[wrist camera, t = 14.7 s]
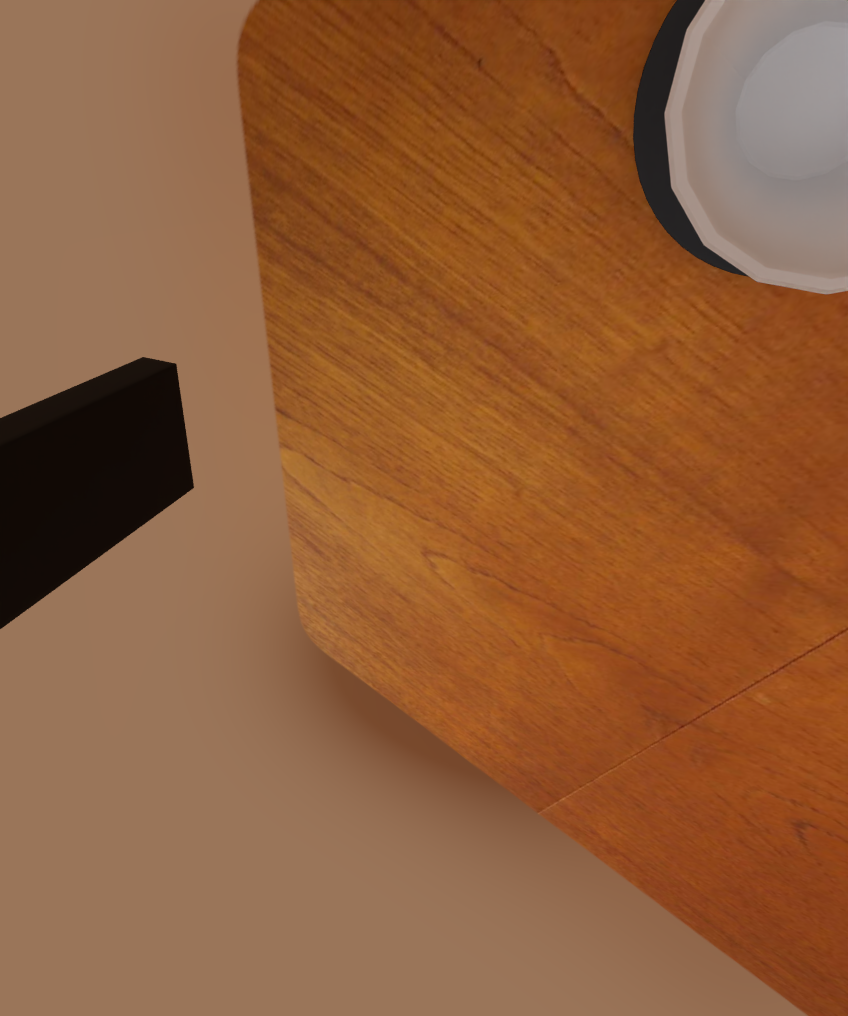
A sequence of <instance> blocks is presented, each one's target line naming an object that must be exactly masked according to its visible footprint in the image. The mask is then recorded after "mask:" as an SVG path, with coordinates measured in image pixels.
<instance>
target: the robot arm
mask: <svg viewBox="0 0 848 1016" xmlns="http://www.w3.org/2000/svg"><path fill="white" fill-rule="evenodd" d="M193 488H194V486H193V478H192V471H191V464H190V457H189V450H188V443H187V436H186V429H185V422H184V415H183V408H182V401H181V394H180V388H179V380H178V373H177V366H176V364H175V363H169V362H165V361H160V360H155V359H150V358H145V357H142V358H140V359H138V360H135V361H133V362H131V363H128V364H126V365H124V366H121V367H119V368H117V369H114V370H112V371H110V372H107V373H105V374H103V375H100V376H98V377H96V378H93V379H91V380H89V381H86V382H84V383H82V384H79V385H77V386H74V387H72V388H70V389H68V390H65V391H63V392H60V393H58V394H56V395H53V396H51V397H49V398H46V399H44V400H42V401H39V402H37V403H35V404H32V405H30V406H28V407H26V408H23V409H21V410H18V411H16V412H14V413H11V414H9V415H7V416H4V417H2V418H0V629H1V628H3V627H4V626H5V625H7V624H8V623H9V622H10V621H12V620H14V619H15V618H16V617H18V616H19V615H20V614H22V613H23V612H24V611H26V610H27V609H29V608H30V607H31V606H33V605H34V604H35V603H37V602H38V601H40V600H41V599H42V598H44V597H45V596H46V595H48V594H49V593H51V592H52V591H53V590H55V589H56V588H57V587H59V586H60V585H61V584H63V583H64V582H65V581H67V580H68V579H70V578H71V577H72V576H74V575H75V574H77V573H78V572H79V571H81V570H82V569H83V568H85V567H86V566H87V565H89V564H90V563H91V562H93V561H94V560H96V559H97V558H98V557H100V556H101V555H103V554H104V553H105V552H107V551H108V550H109V549H111V548H112V547H113V546H115V545H116V544H117V543H119V542H120V541H122V540H123V539H124V538H126V537H127V536H128V535H130V534H131V533H133V532H134V531H135V530H137V529H138V528H139V527H141V526H142V525H144V524H145V523H146V522H148V521H149V520H150V519H152V518H153V517H154V516H156V515H157V514H158V513H160V512H161V511H163V510H164V509H165V508H167V507H168V506H170V505H171V504H172V503H174V502H175V501H176V500H178V499H179V498H181V497H182V496H183V495H185V494H186V493H187V492H189V491H190V490H191V489H193Z"/></svg>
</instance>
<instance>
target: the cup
mask: <svg viewBox="0 0 848 1016" xmlns="http://www.w3.org/2000/svg"><path fill="white" fill-rule="evenodd" d="M664 116H665V126H666V137H667V148H668V158H669V169H670V179H671V188H672V190H673V192H674V193H675V195H676V197H677V199H678V200H679V202H680V204H681V206H682V207H683V209H684V211H685V213H686V215H687V216H688V218H689V220H690V222H691V223H692V225H693V227H694V229H695V231H696V232H697V234H698V236H699V238H700V239H701V241H702V243H703V245H704V246H706V247H707V248H709V249H710V250H712V251H713V252H715V253H716V254H717V255H719V256H720V257H722V258H723V259H725V260H726V261H728V262H729V263H731V264H732V265H733V266H735V267H736V268H738V269H739V270H741V271H742V272H744V273H745V274H746V275H748V276H749V277H751V278H752V279H754V280H755V281H757V282H762V283H767V284H772V285H778V286H783V287H789V288H794V289H799V290H805V291H810V292H816V293H821V294H832V293H837V292H843V291H848V0H705V1H704V3H703V5H702V6H701V8H700V9H699V11H698V12H697V14H696V16H695V17H694V19H693V20H692V22H691V23H690V25H689V27H688V28H687V30H686V34H685V38H684V41H683V45H682V49H681V53H680V56H679V60H678V64H677V68H676V72H675V75H674V79H673V83H672V87H671V90H670V94H669V98H668V102H667V106H666V109H665V113H664Z"/></svg>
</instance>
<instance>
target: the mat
mask: <svg viewBox="0 0 848 1016" xmlns="http://www.w3.org/2000/svg"><path fill="white" fill-rule="evenodd" d="M704 1H705V0H677V1H676V3H675V4H674V6H673V7H672V9H671V10H670V12H669V13H668V15H667V17H666V19H665V20H664V22H663V24H662V26H661V28H660V30H659V32H658V34H657V36H656V38H655V40H654V42H653V45H652V48H651V50H650V53H649V56H648V58H647V61H646V63H645V66H644V70H643V73H642V77H641V81H640V85H639V88H638V93H637V100H636V106H635V113H634V134H633V140H634V151H635V161H636V166H637V170H638V175H639V179H640V183H641V185H642V188H643V191H644V193H645V196H646V199H647V201H648V203H649V205H650V207H651V208H652V210H653V212H654V214H655V216H656V218H657V219H658V220H659V222H660V223H661V224H662V226H663V227H664V228H665V230H666V231H667V232H668V233H669V234H670V235H671V236H672V237H673V238H674V239H675V240H676V241H677V242H678V243H679V244H680V245H681V246H682V247H683V248H685V249H686V250H687V251H689V252H690V253H691V254H693V255H694V256H695V257H697V258H699V259H701V260H703V261H704V262H706V263H708V264H710V265H712V266H714V267H717V268H720V269H722V270H725V271H728V272H731V273H735V274H739V275H744V276H748V275H746V274H745V273H744V272H742V271H741V270H739V269H738V268H736V267H735V266H733V265H732V264H731V263H729V262H728V261H726V260H725V259H723V258H722V257H720V256H719V255H717V254H716V253H715V252H713V251H712V250H710V249H709V248H707V247H706V246H704V245H703V243H702V241H701V239H700V238H699V236H698V234H697V232H696V231H695V229H694V227H693V225H692V223H691V222H690V220H689V218H688V216H687V215H686V213H685V211H684V209H683V207H682V206H681V204H680V202H679V200H678V199H677V197H676V195H675V193H674V192H673V190H672V188H671V179H670V169H669V158H668V148H667V137H666V126H665V116H664V113H665V109H666V106H667V102H668V98H669V94H670V90H671V87H672V83H673V79H674V75H675V72H676V68H677V64H678V60H679V56H680V53H681V49H682V45H683V41H684V38H685V34H686V30H687V28H688V27H689V25H690V23H691V22H692V20H693V19H694V17H695V16H696V14H697V12H698V11H699V9H700V8H701V6H702V5H703V3H704Z"/></svg>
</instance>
